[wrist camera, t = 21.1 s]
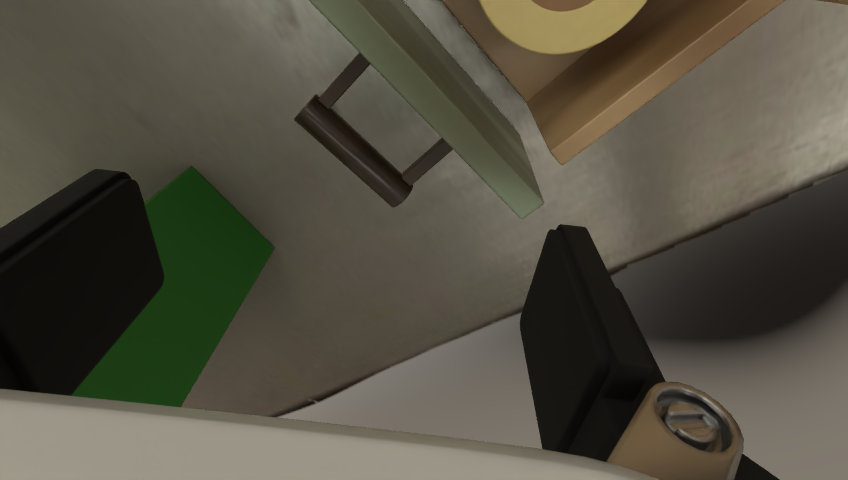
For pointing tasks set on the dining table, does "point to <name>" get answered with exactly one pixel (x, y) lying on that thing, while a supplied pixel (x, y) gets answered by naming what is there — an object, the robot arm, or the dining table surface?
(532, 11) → the tape roll
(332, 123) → the drawer
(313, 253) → the dining table surface
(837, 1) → the cabinet
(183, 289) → the hardback book
